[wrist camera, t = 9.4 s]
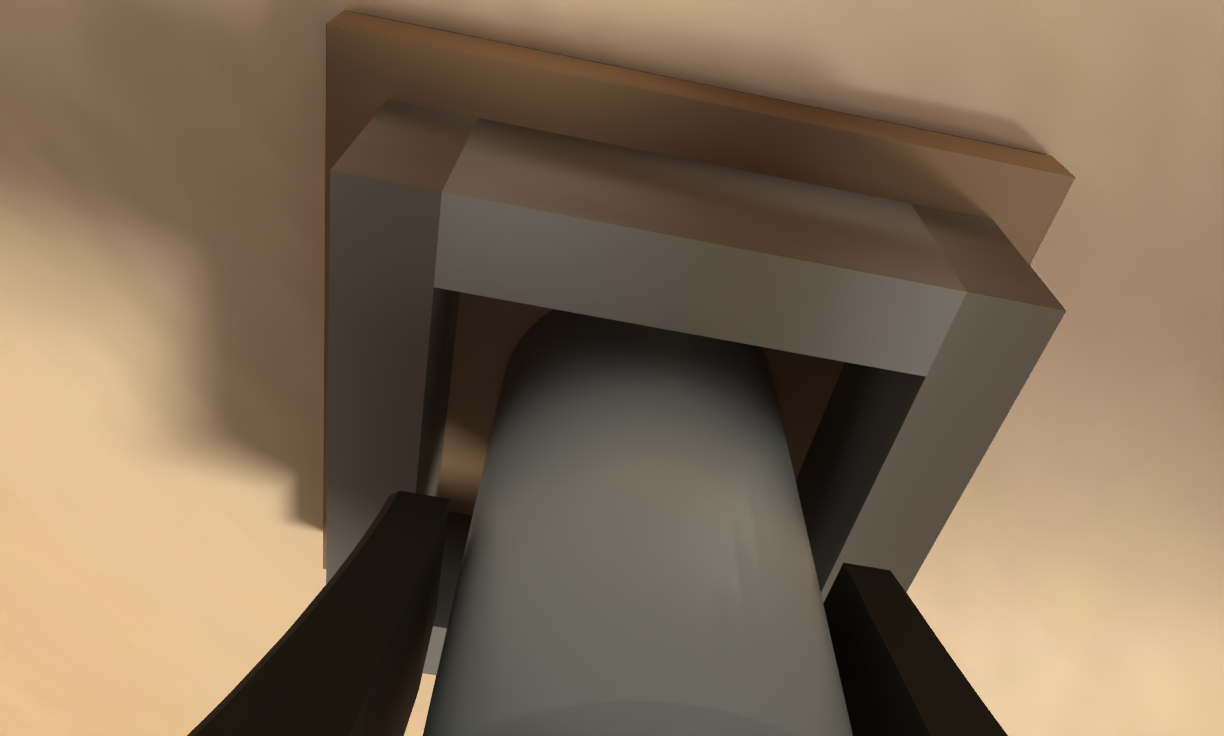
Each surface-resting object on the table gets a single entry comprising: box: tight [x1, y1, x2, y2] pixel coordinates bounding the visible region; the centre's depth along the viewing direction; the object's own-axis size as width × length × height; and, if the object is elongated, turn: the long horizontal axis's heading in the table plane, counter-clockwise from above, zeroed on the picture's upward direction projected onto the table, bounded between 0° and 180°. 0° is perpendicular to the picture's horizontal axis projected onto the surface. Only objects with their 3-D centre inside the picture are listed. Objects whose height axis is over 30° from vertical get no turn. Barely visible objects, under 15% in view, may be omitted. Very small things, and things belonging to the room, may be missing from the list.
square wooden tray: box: [323, 11, 1075, 675], centre depth 13 cm, size 10×10×3 cm
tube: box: [423, 309, 853, 736], centre depth 11 cm, size 4×4×7 cm
